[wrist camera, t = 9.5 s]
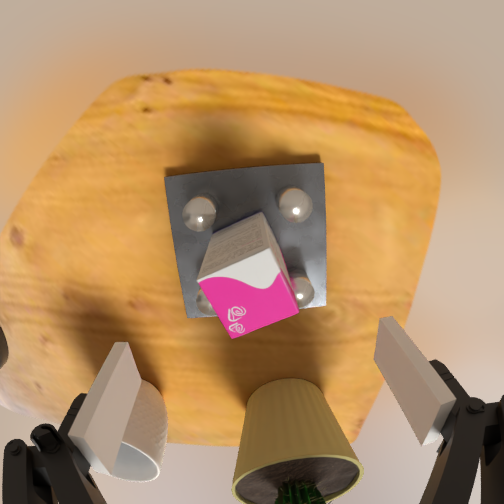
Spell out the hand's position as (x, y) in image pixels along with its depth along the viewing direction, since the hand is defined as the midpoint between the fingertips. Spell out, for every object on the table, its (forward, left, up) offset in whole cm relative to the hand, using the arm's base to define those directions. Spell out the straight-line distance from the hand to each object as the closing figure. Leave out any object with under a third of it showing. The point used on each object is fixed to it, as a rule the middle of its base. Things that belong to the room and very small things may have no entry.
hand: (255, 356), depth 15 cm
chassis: (0, 0, -19) cm, 19 cm away
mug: (-19, -22, -20) cm, 35 cm away
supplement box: (0, 0, -19) cm, 19 cm away
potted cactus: (+3, -25, -20) cm, 32 cm away
